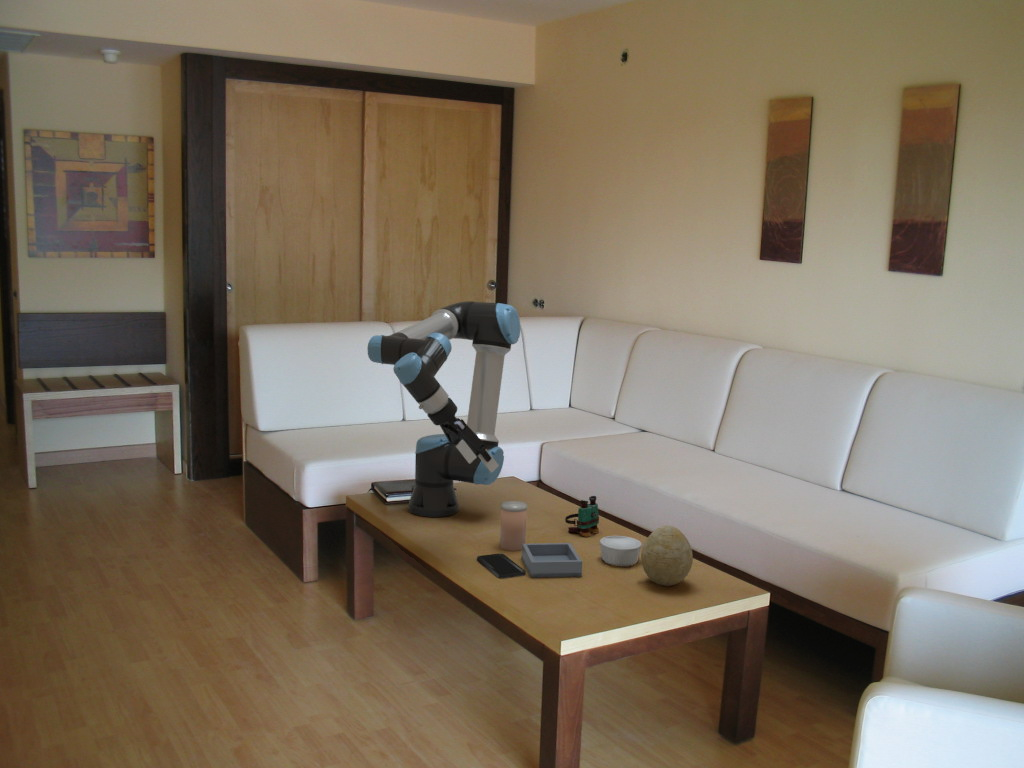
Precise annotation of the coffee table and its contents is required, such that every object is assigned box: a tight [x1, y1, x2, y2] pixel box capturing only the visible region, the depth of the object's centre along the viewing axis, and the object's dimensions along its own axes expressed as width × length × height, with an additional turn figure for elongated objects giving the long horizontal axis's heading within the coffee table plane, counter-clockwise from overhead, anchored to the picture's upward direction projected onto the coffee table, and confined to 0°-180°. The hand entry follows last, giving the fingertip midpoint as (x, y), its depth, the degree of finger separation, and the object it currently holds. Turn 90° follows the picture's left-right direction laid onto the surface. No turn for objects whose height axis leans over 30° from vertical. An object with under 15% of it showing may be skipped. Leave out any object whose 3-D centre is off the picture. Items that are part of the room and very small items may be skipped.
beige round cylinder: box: [499, 500, 528, 552], centre depth 260 cm, size 7×7×12 cm
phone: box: [476, 553, 526, 580], centre depth 245 cm, size 8×1×15 cm
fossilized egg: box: [640, 525, 694, 587], centre depth 237 cm, size 13×13×15 cm
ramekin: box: [599, 535, 643, 567], centre depth 253 cm, size 11×11×5 cm
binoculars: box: [564, 495, 600, 538], centre depth 275 cm, size 9×11×10 cm
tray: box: [521, 542, 583, 579], centre depth 246 cm, size 14×13×4 cm
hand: (483, 464), depth 255 cm, fingers open, 13 cm apart
